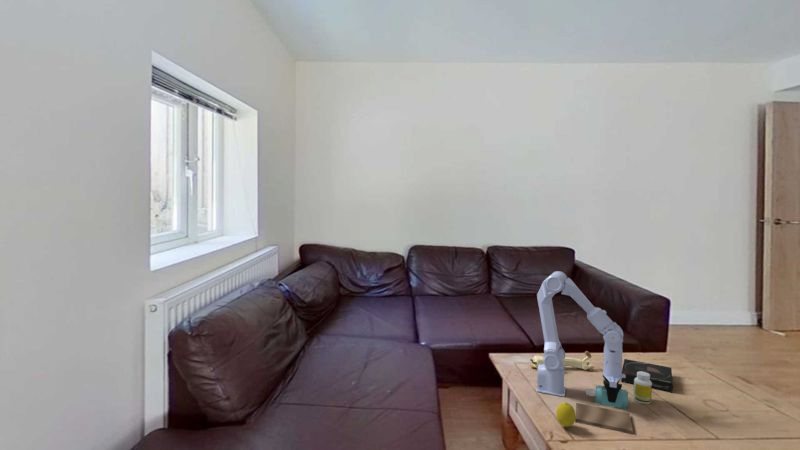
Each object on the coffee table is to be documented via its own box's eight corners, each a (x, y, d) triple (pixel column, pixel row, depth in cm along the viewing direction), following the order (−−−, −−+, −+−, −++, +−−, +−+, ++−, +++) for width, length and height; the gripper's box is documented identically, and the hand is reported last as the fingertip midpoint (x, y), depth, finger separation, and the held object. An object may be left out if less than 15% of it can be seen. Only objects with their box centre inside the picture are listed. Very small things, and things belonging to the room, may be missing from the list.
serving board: (575, 421, 130) (575, 418, 130) (576, 405, 140) (576, 402, 140) (632, 433, 123) (632, 430, 123) (629, 416, 133) (629, 413, 133)
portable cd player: (670, 376, 163) (671, 367, 163) (672, 394, 149) (672, 383, 148) (624, 367, 172) (624, 358, 171) (621, 383, 157) (621, 373, 157)
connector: (585, 401, 143) (586, 387, 142) (586, 396, 146) (586, 382, 146) (628, 409, 137) (628, 395, 137) (627, 404, 141) (627, 390, 140)
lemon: (552, 422, 129) (553, 398, 129) (569, 422, 130) (570, 397, 129) (561, 432, 124) (561, 407, 123) (578, 431, 124) (579, 406, 124)
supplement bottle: (653, 405, 140) (654, 377, 139) (636, 403, 141) (637, 376, 140) (647, 397, 145) (648, 371, 145) (631, 396, 146) (632, 369, 146)
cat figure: (584, 367, 175) (526, 361, 176) (587, 347, 174) (528, 342, 175) (594, 377, 165) (532, 371, 166) (597, 356, 164) (534, 350, 165)
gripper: (627, 371, 132) (626, 411, 133) (624, 355, 145) (623, 392, 146) (603, 367, 135) (602, 406, 136) (602, 352, 148) (601, 388, 149)
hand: (611, 398), depth 141 cm, fingers closed on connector, 4 cm apart
